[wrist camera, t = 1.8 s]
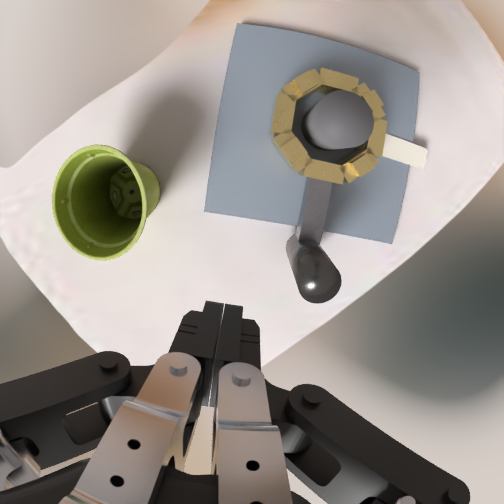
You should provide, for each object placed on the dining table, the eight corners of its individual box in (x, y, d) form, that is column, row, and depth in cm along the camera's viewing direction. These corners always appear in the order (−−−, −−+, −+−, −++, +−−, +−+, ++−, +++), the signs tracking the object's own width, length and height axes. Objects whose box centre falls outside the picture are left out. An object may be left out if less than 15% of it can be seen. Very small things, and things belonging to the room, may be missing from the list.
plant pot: (165, 135, 26) (130, 128, 18) (185, 223, 29) (159, 249, 21) (91, 162, 27) (42, 167, 18) (111, 241, 29) (70, 269, 21)
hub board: (237, 28, 22) (232, -12, 14) (427, 81, 23) (470, 67, 15) (206, 209, 28) (188, 228, 20) (401, 243, 29) (440, 270, 21)
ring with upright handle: (280, 69, 22) (291, 33, 14) (378, 95, 23) (421, 76, 15) (249, 255, 28) (247, 294, 20) (343, 269, 29) (373, 309, 20)
